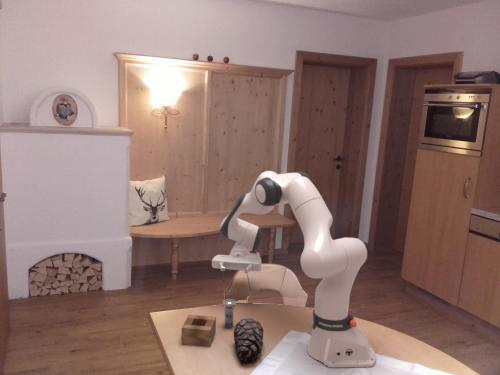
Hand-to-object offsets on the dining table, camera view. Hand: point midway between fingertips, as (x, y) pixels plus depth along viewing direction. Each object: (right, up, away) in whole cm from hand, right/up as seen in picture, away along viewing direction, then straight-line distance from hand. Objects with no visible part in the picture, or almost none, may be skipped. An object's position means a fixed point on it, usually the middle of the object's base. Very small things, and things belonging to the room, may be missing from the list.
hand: (234, 270), depth 176 cm
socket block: (-12, -21, -18) cm, 30 cm away
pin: (-2, -19, -9) cm, 21 cm away
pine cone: (+6, -23, -26) cm, 35 cm away
